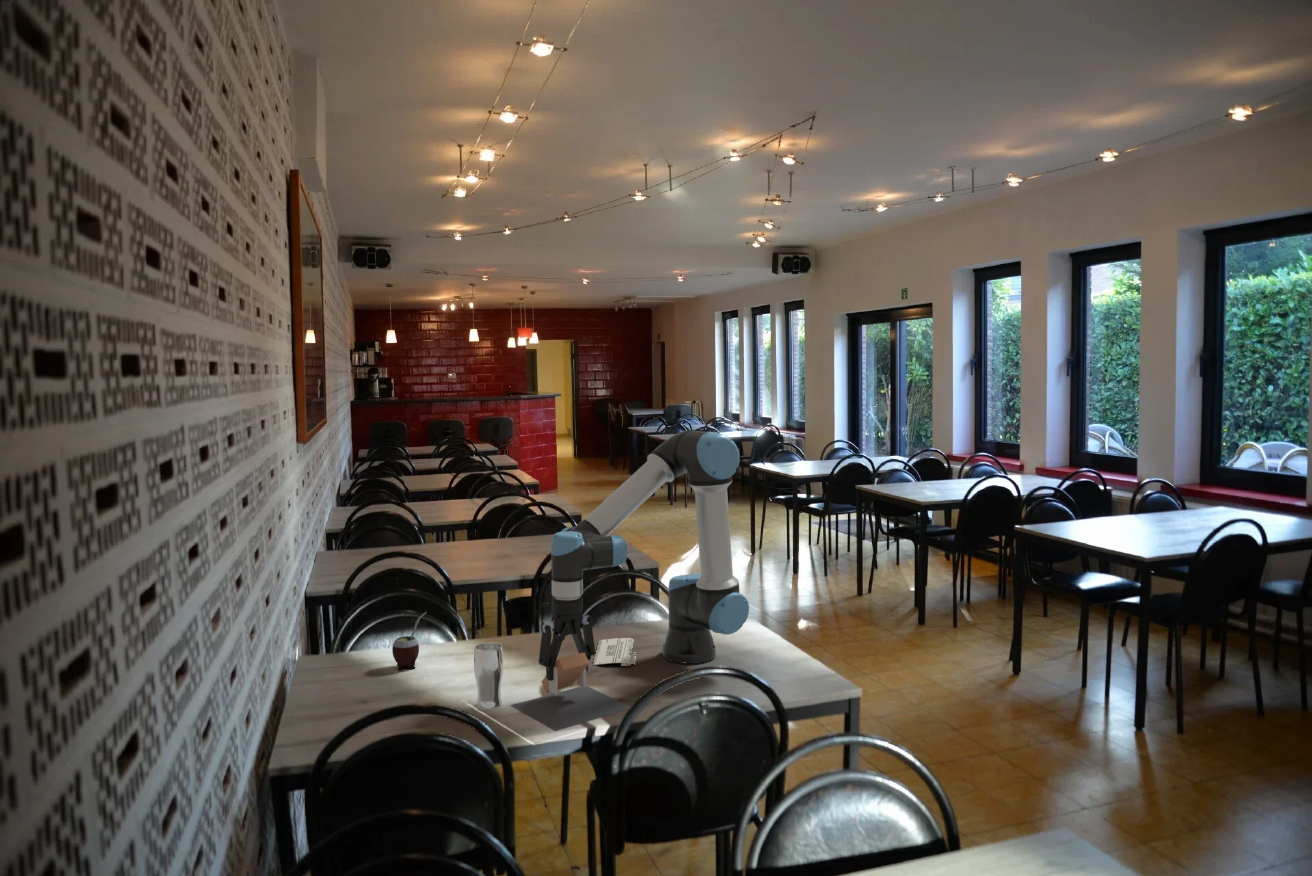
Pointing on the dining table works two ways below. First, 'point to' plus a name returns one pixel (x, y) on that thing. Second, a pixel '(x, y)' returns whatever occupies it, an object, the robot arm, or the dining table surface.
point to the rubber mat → (570, 707)
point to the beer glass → (488, 674)
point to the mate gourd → (406, 650)
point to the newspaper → (614, 651)
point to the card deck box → (568, 670)
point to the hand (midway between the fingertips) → (567, 688)
